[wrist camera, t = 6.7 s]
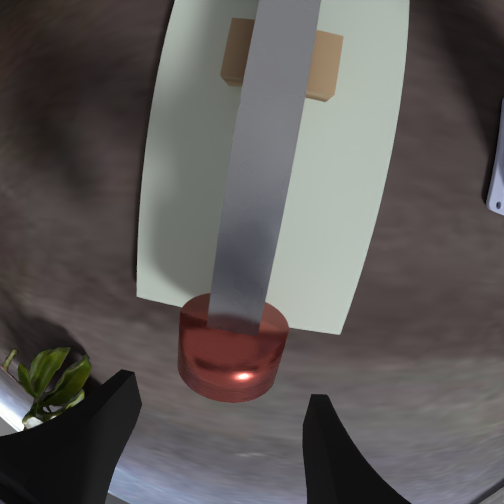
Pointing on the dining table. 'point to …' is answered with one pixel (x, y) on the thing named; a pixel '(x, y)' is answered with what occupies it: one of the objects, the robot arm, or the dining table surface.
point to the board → (304, 165)
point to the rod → (252, 215)
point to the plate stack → (495, 498)
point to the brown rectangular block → (320, 69)
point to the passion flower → (41, 377)
